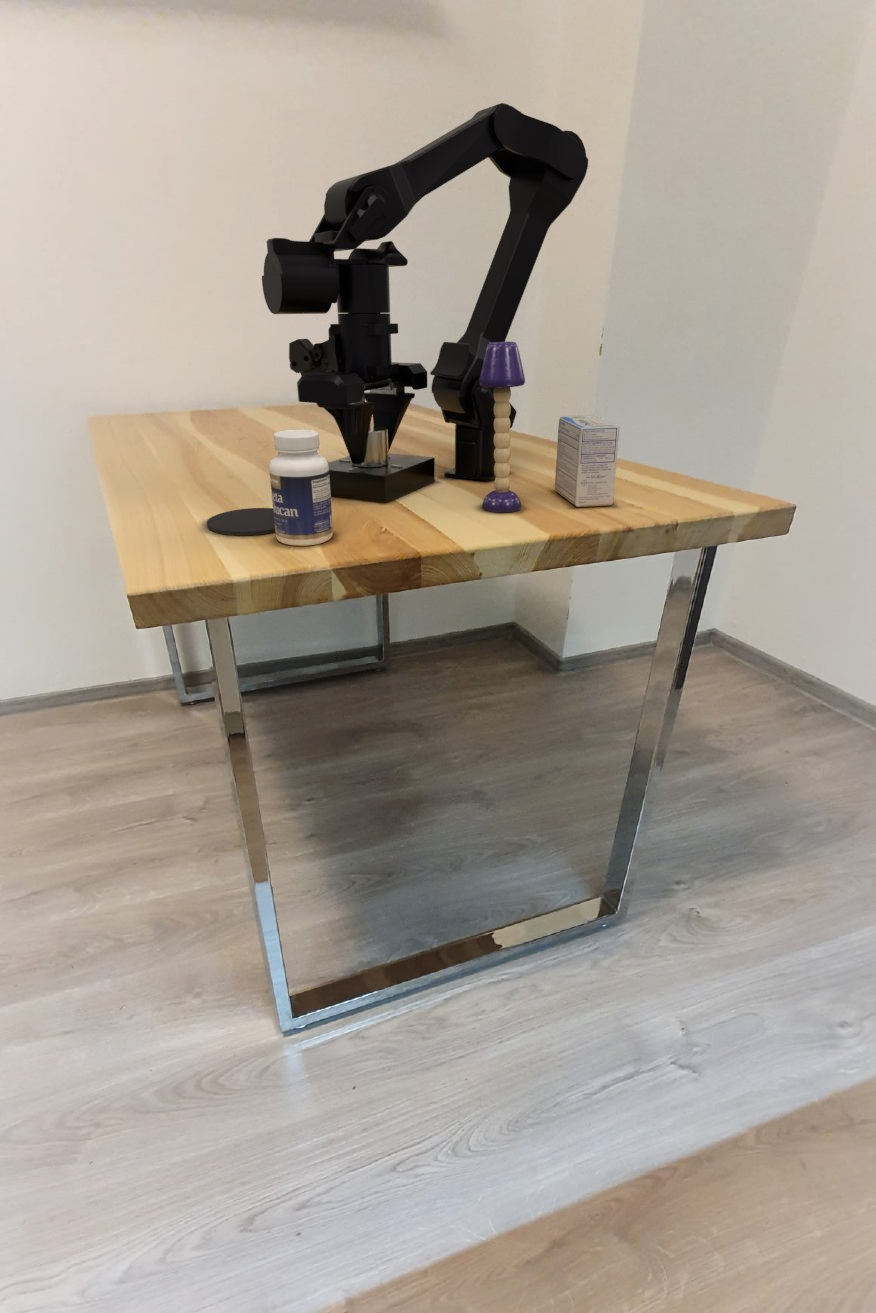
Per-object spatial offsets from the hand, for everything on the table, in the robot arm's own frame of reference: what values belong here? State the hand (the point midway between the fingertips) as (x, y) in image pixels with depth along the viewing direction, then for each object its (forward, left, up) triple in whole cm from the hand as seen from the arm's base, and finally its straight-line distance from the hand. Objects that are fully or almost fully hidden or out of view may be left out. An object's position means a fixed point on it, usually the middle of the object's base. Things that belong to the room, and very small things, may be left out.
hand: (370, 459), depth 86 cm
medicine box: (-7, +24, -4) cm, 25 cm away
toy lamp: (+1, +17, -4) cm, 17 cm away
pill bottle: (+20, +5, -4) cm, 21 cm away
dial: (0, 0, 0) cm, 0 cm away
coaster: (+18, -3, -4) cm, 19 cm away
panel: (-1, 0, -4) cm, 4 cm away
